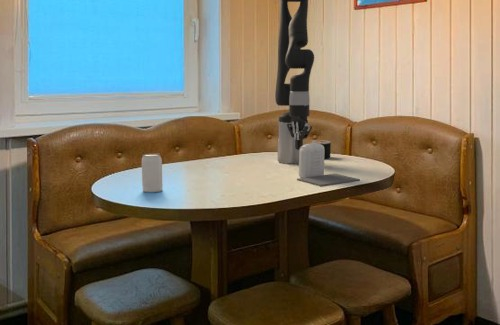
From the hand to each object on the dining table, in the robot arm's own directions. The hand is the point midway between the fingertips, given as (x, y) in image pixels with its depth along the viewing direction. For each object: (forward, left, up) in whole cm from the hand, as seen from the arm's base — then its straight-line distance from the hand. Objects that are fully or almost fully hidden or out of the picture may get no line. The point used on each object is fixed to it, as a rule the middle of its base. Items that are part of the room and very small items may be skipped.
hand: (298, 149), depth 209 cm
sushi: (-24, +31, -9) cm, 40 cm away
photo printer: (+8, 0, -9) cm, 12 cm away
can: (-1, -59, -9) cm, 60 cm away
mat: (+17, 0, -9) cm, 19 cm away
